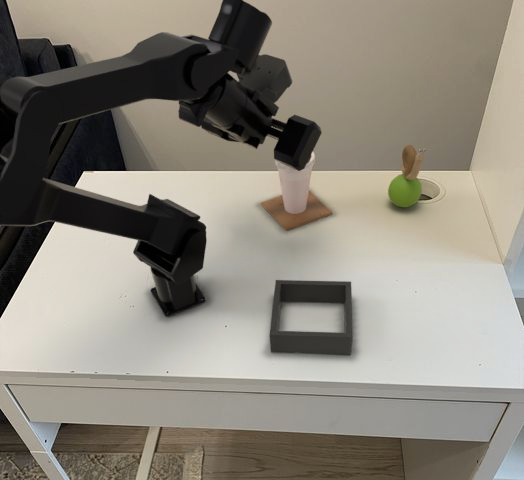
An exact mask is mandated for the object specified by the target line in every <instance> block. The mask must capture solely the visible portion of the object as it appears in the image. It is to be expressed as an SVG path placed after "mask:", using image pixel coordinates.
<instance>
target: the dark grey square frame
mask: <svg viewBox="0 0 524 480" xmlns="http://www.w3.org/2000/svg"><path fill="white" fill-rule="evenodd" d="M352 298H353V295H352V281H348V280H347V281H345V280H343V281H342V280H300V279H299V280H296V279H295V280H293V279H290V280H289V279H275V284H274V291H273V300H272V301H273V302H272V310H271V319H270V327H269V346H270V347H269V348H270V353H275V354H276V353H277V354H279V353H280V354H307V355H308V354H310V355H334V356H335V355H336V356H339V355H340V356H351V354H352V348H353V347H352V345H353V336H354V335H353V301H352ZM282 302H283V303H285V302H286V303H319V304H328V303H329V304H330V303H331V304H343V327H344V329H343V330H344V331H343V332H333V331H332V332H331V331H330V332H329V331H300V330H280V321H281V311H282Z"/></svg>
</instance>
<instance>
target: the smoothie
mask: <svg viewBox="0 0 524 480" xmlns="http://www.w3.org/2000/svg"><path fill="white" fill-rule="evenodd" d="M311 156H312V157H311V159H310V161H309V163H307V164H306V166H305V168H304V169H303V170H301V171H297V170H295V169H293V168H290V167H288V166H286V165H284V164H281V163H280V162H278V161H277V160H275V159H274V164H275V166H276V167H277V171H278V179H279V183H280V188H281V189H280V190H281V194H282V195H281V196H283V202H284V207H285V210H286V211H287V212H288V213H291V214H299V213H302V212H304V211H305V210H306V205H307V198H308V192H309V191H310V185H311V178H312V173H313V172H312V171H313V166H314V164H315V163H316V159H315V158H316V157H315V156H316V155H315V152H314V151H313V152H312V154H311Z"/></svg>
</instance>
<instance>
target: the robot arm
mask: <svg viewBox="0 0 524 480" xmlns="http://www.w3.org/2000/svg"><path fill="white" fill-rule="evenodd" d="M218 11H219V12H218V14H217V17H216V19H215V21H214V24H213V25H212V28H211V30H210V32H209V36H208V37H207V38H204V37H201V36H198V35H195V34H188V35H183V36H179V35H177V34H173V33H170V32H167V31H166V32H165V31H161V32H159V33H158V32H157V33H156V34H154V35H152V36H150V37H148V38H145V39H143V40H141V41H139V42H137V44H136V45H135V46H134V47H133V48H132V50H130V51H129V52H127V53H125V54H123V55H121V56H116V57H111V58H107V59H102V60H98V61H94V62H89V63H85V64H80V65H76V66H72V67H67V68H62V69H59V70H58V69H57V70H53V71H50V72H45V73H40V74H36V75H31V76H14V77H11V78H9V79H7V80H6V81H4V82H3V84H2V85H1V87H0V226H2V227H34V226H37V225H40V224H43V223H47V222H52V223H53V222H54V223H58V224H63V225H67V226H71V227H76V228H81V229H85V230H90V231H94V232H98V233H104V234H108V235H113V236H118V237H121V238H126V239H130V240H135V241H137V242H136V245H135V246H134V249H133V252H132V253H133V255H134V257H136V258H137V260H138V261H139V262H141V263H143V264H145V265H147V266H148V267H150V271H151V275H152V279H153V282H154V287H152V288H151V289H150V294H151V295H152V297H153V299H154V300H155V303H156V304H157V305H158V307H159V309H160V310H161V312H162V314H163V315H164V317H166V318H168V317H170V316H173V315H176V314H178V313H181V312H184V311H186V310H188V309H192V308H193V307H194V308H195V307H196V306H198V305H199V306H200V305H201V304H203V303H206V301H207V299H206V296H205V295H204V293H203V291H202V290H201V289H200V287H199V286H198V284H197V283H196V280H195V276H194V275H196V274H197V273H199V272H200V271H202V270H203V268H204V263H205V257H206V248H207V243H208V241H207V226H206V224H205V223H204V222H202V221H200V219H201V215H199V214H197V213H195V212H193V211H192V210H190V209H187V207H184V206H182V205H180V204H178V203H176V202H175V201H173V200H171V199H169V198H165V199H160V198H159V197H157V196H155V195H153V194H151V193H149V194H148V197H147V202H146V203H145V204H142V205H137V204H133V203H131V202H127V201H123V200H120V199H117V198H113V197H110V196H107V195H103V194H100V193H96V192H92V191H89V190H86V189H82V188H78V187H76V186H72V185H70V184H69V185H68V184H66V183H62V182H59V181H55V180H52V179H49V178H45V175H46V173H47V170H48V165H49V156H50V150H51V145H52V138H53V136H54V134H55V132H56V130H57V128H58V127H59V125H62V124H66V123H69V122H73V121H76V120H81V119H84V118H86V117H90V116H94V115H97V114H100V113H104V112H107V111H111V110H115V109H118V108H122V107H125V106H128V105H131V104H132V105H133V104H135V103H139V102H142V101H146V100H161V101H173V102H178V106H179V108H178V111H177V112H178V119H179V120H180V121H183V122H185V123H188V124H189V125H192V126H194V127H197V128H201V129H202V130H204V131H205V132H207V133H208V134H210V135H213V136H215V137H217V138H219V139H223V140H225V141H227V142H234V143H241V144H243V145H246V146H248V147H251V148H253V149H255V150H258V147H259V145H264V143H265V140H266V137H269V138H271V139H274V140H277V142H276V144H275V146H274V148H273V159H274V161H275V160H277V161H278V162H280V163H281V164H284V165H286V166H288V167H290V168H293V169H295V170H297V171H301V170H303V169H304V168H305V166H306V164H307V163H309V161H310V159H311V157H312V156H311V154H312V152H314V149H315V148H316V146H317V143H318V141H319V139H320V137H321V136H322V132H323V131H322V128H321V126H319V124H317V122H315V121H314V120H311V119H308V118H306V117H303V116H300V115H298V114H293V115H292V116H290V117H288V119H287V121H286V122H284V121H282V120H279V119H276V118H273V117H276V116H277V114H278V111H279V109H280V107H279V106H278V105H277V104H276V102H278V101H279V99H280V98H281V97H282V96H283V94H284V93H285V92H286V90H287V89H288V88H290V87H291V85H292V84H293V78H292V76H291V73H290V70H289V68H288V64H287V62H286V60H285V59H283V58H279V57H276V56H273V55H270V54H266V53H265V54H260V53H261V50H262V47H263V45H264V43H265V41H266V39H267V36H268V34H269V32H270V30H271V28H272V25H273V21H272V19H271V17H270V16H269V15H268V14H267V13H266V12H264V11H261V10H259V9H258V8H257V7H255V6H254V5H252V4H250V3H248V2H247V1H244V0H222V2H221V4H220V8H219V10H218ZM229 72H231V73H234V74H236V76H237V79H238V80H237V79H236V78H234V77H233V75H231V74H230V73H229ZM11 141H12V146H11V152H10V155H9V157H8V158H7V157H6V156H4V155H2V154H1V153H2V151H3V150H4V148H5V146H7V145H8V144H9V143H10V142H11Z"/></svg>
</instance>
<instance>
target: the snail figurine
mask: <svg viewBox="0 0 524 480" xmlns="http://www.w3.org/2000/svg"><path fill="white" fill-rule="evenodd" d="M426 150H427V149H426V148H425V147H423V148H419V149H417V150H416V148H415V147H414V146H413V145H412V144H407V145H405V146H404V147H403V149H402V153H401V160H402V161H401V165H400V169H401V174H398V175H397V176H395V177H394V178H393V179H392V180H391V181H390V183H389V185H388V188H387V191H388V192H387V194H388V198H389V200H390V201H391V203H393V205H394V206H397V207H400V208H408V207H411V206H413V205H415V204H416V203H417V202H418V201H419V199H420V198H421V196H422V191H423V187H422V183H421V181H420V179H419V178H418V175H419V173H420V171H421V168H422V164H423V161H424V154H425V152H426ZM417 152H418V153H417Z"/></svg>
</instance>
